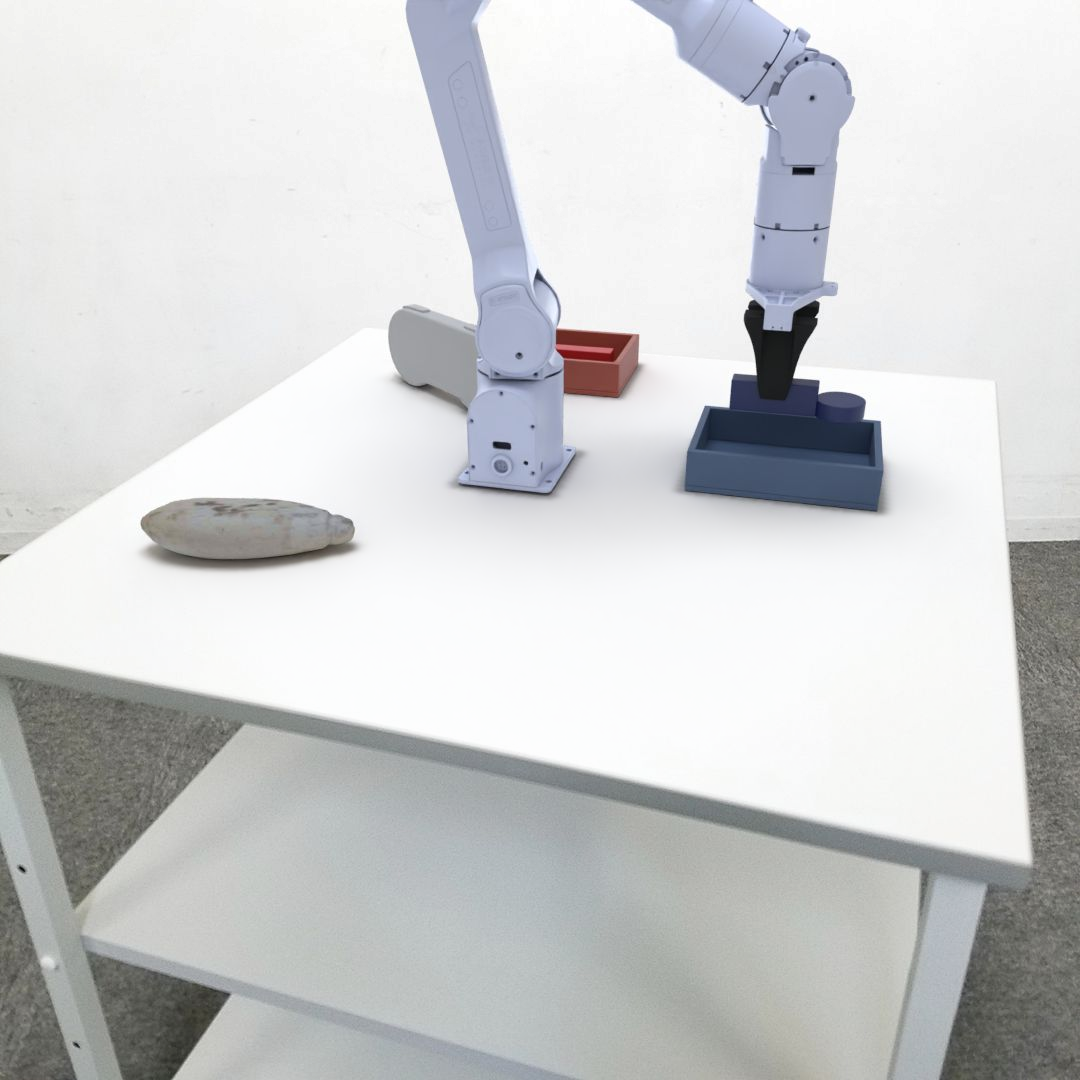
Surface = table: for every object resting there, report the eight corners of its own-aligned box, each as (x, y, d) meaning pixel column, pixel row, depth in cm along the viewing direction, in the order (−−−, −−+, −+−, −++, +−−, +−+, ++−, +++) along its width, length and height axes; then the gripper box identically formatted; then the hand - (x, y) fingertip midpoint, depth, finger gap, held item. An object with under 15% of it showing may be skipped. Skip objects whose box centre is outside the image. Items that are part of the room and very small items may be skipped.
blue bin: (877, 511, 81) (883, 470, 80) (684, 490, 85) (687, 451, 83) (875, 458, 91) (881, 420, 89) (701, 441, 94) (704, 405, 93)
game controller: (518, 420, 99) (517, 336, 96) (499, 426, 98) (497, 340, 94) (407, 371, 113) (403, 295, 109) (389, 376, 111) (384, 299, 108)
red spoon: (615, 368, 112) (616, 345, 111) (607, 380, 109) (608, 356, 107) (519, 361, 114) (519, 338, 113) (509, 372, 111) (508, 348, 110)
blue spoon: (727, 414, 85) (730, 383, 84) (732, 398, 88) (735, 369, 87) (863, 426, 82) (868, 395, 81) (863, 409, 86) (868, 379, 85)
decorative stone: (351, 564, 74) (347, 522, 72) (131, 570, 73) (122, 526, 71) (360, 526, 79) (357, 486, 78) (155, 531, 78) (147, 490, 77)
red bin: (618, 397, 105) (619, 364, 104) (476, 385, 109) (475, 352, 107) (638, 364, 115) (639, 334, 113) (507, 354, 118) (506, 324, 117)
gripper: (844, 245, 72) (821, 429, 78) (846, 210, 84) (825, 371, 90) (742, 240, 73) (727, 420, 80) (758, 206, 86) (744, 364, 92)
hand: (773, 394), depth 85 cm, fingers closed on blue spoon, 2 cm apart
